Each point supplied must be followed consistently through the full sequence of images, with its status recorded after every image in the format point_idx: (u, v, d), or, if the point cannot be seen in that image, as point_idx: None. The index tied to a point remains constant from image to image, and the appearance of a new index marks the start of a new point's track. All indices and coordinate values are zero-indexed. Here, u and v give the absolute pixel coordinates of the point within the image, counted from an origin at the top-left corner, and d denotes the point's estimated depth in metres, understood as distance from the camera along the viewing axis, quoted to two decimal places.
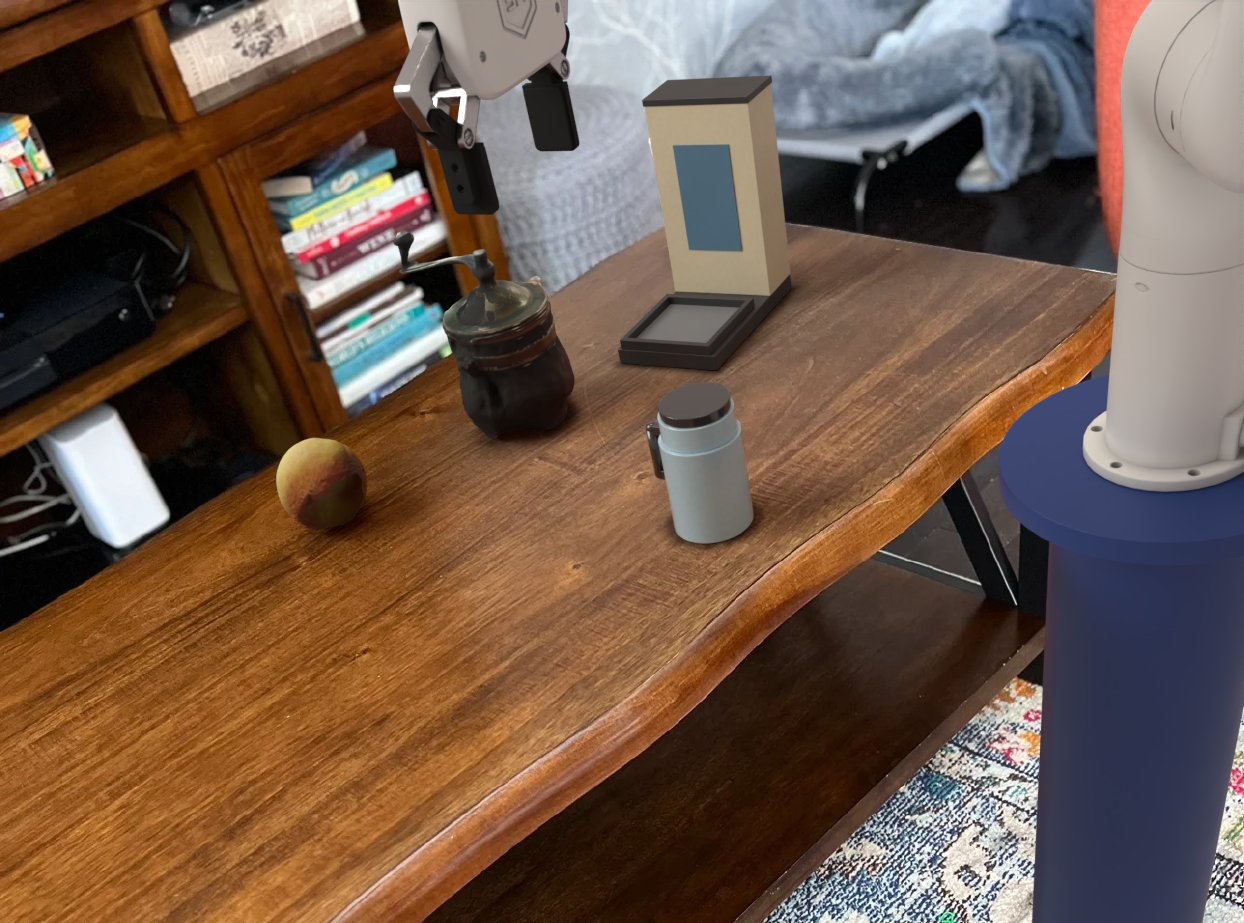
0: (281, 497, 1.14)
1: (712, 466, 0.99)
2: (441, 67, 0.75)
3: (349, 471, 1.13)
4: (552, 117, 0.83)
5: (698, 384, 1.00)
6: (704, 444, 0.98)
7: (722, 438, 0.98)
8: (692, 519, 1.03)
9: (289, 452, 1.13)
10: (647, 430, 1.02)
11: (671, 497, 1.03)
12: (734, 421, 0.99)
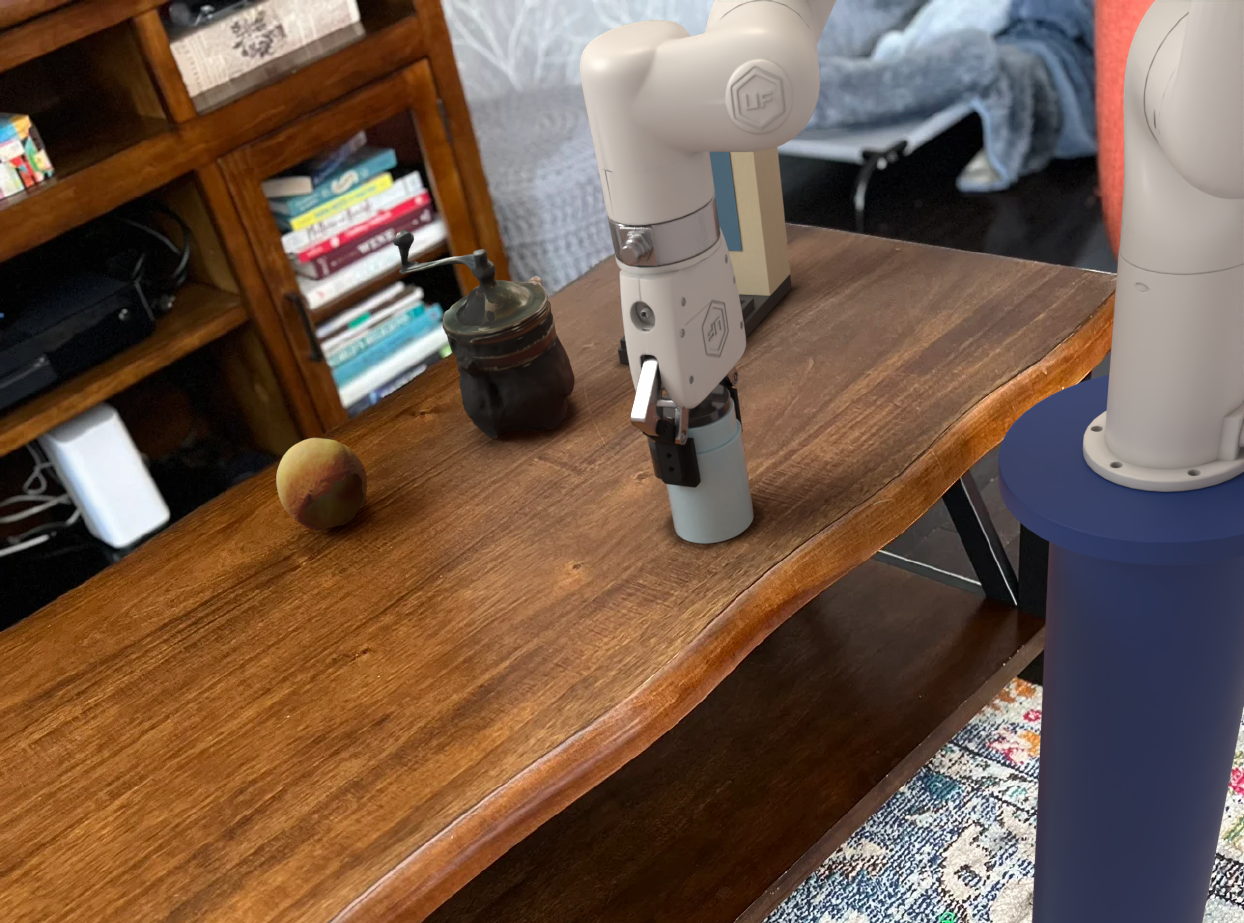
0: (281, 497, 1.14)
1: (712, 466, 0.99)
2: None
3: (349, 471, 1.13)
4: None
5: None
6: (704, 444, 0.98)
7: (722, 438, 0.98)
8: (692, 519, 1.03)
9: (289, 452, 1.13)
10: None
11: (671, 497, 1.03)
12: (734, 421, 0.99)
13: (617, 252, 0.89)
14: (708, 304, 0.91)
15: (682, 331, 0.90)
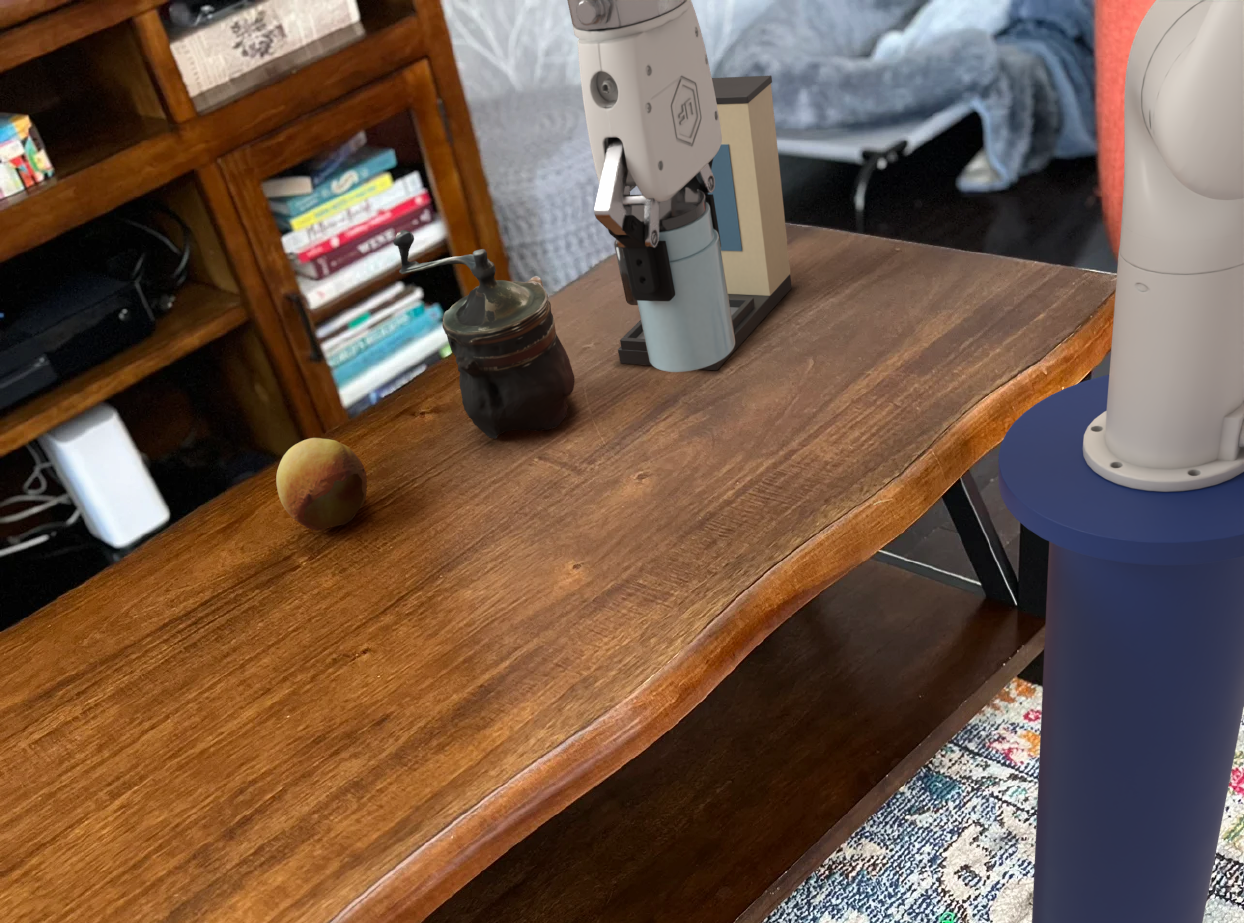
0: (281, 497, 1.14)
1: (687, 277, 0.90)
2: None
3: (349, 471, 1.13)
4: None
5: None
6: (677, 251, 0.89)
7: (697, 244, 0.89)
8: (667, 343, 0.94)
9: (289, 452, 1.13)
10: (616, 246, 0.93)
11: (644, 320, 0.94)
12: (710, 226, 0.90)
13: (574, 18, 0.80)
14: (677, 79, 0.82)
15: (649, 105, 0.81)
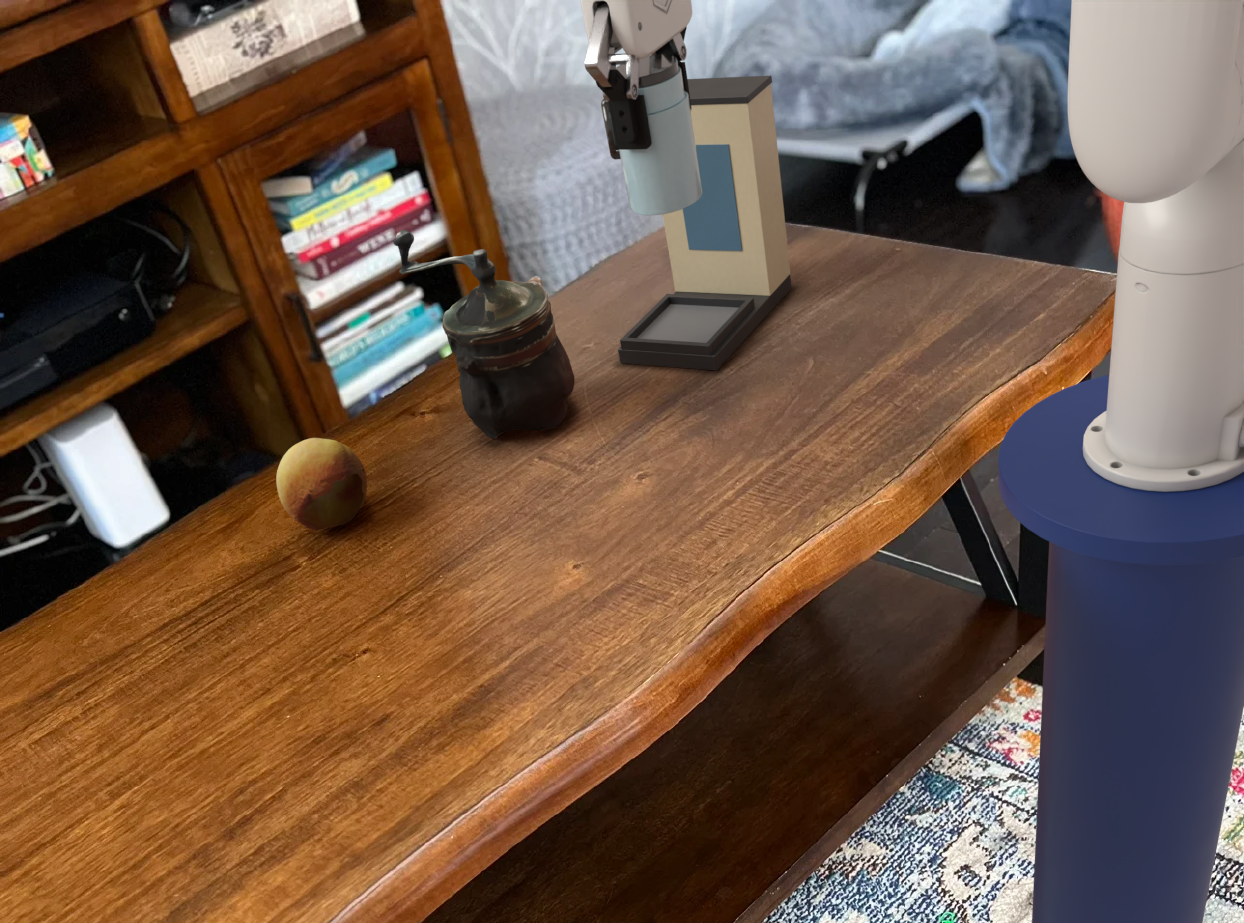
0: (281, 497, 1.14)
1: (661, 128, 1.07)
2: None
3: (349, 471, 1.13)
4: None
5: (649, 56, 1.09)
6: (653, 105, 1.06)
7: (670, 100, 1.07)
8: (644, 188, 1.11)
9: (289, 452, 1.13)
10: (602, 105, 1.11)
11: (625, 169, 1.11)
12: (681, 86, 1.07)
13: None
14: None
15: None
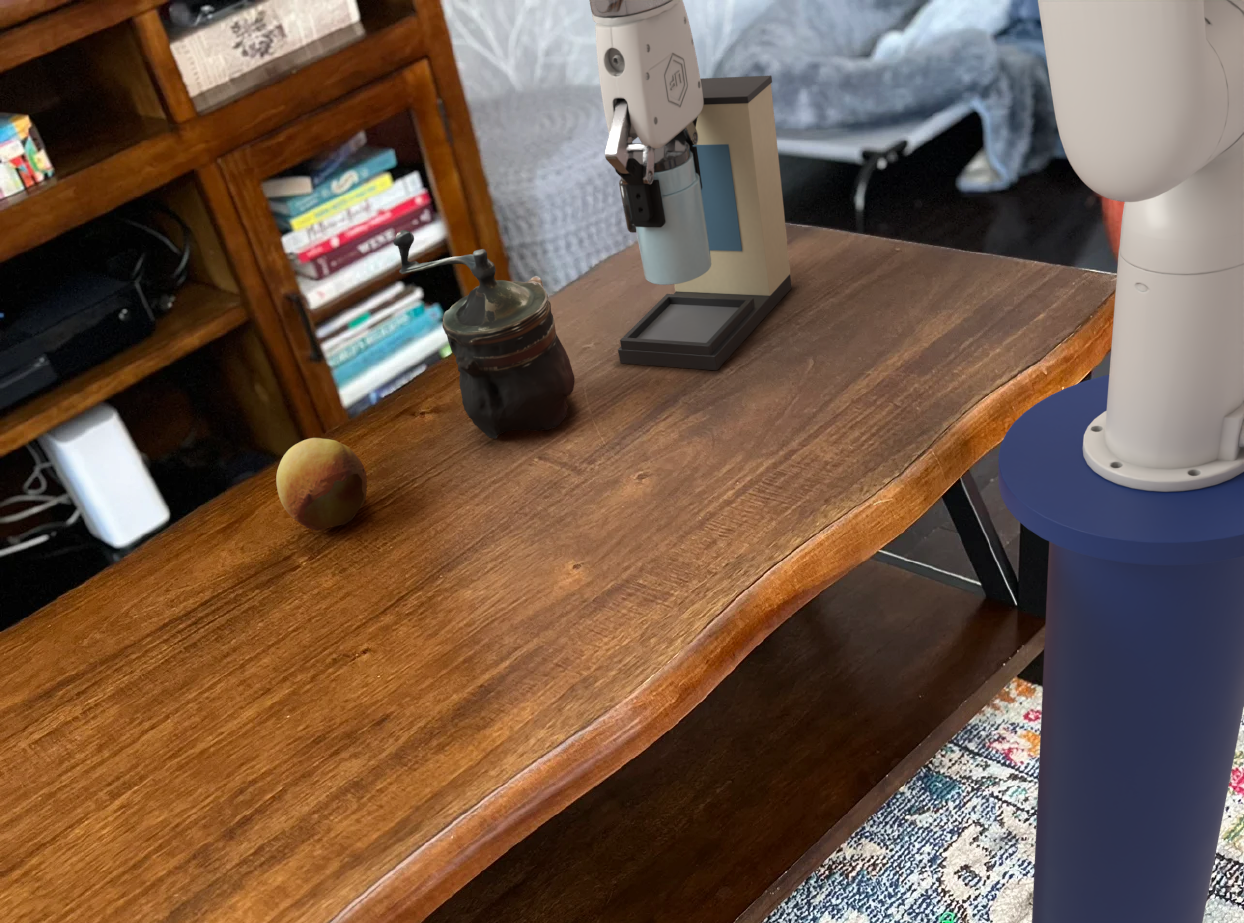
0: (281, 497, 1.14)
1: (674, 208, 1.17)
2: None
3: (349, 471, 1.13)
4: None
5: None
6: (667, 187, 1.16)
7: (682, 183, 1.16)
8: (658, 261, 1.21)
9: (289, 452, 1.13)
10: (620, 185, 1.21)
11: (641, 243, 1.21)
12: (693, 170, 1.17)
13: (593, 7, 1.07)
14: (669, 56, 1.10)
15: (647, 74, 1.08)
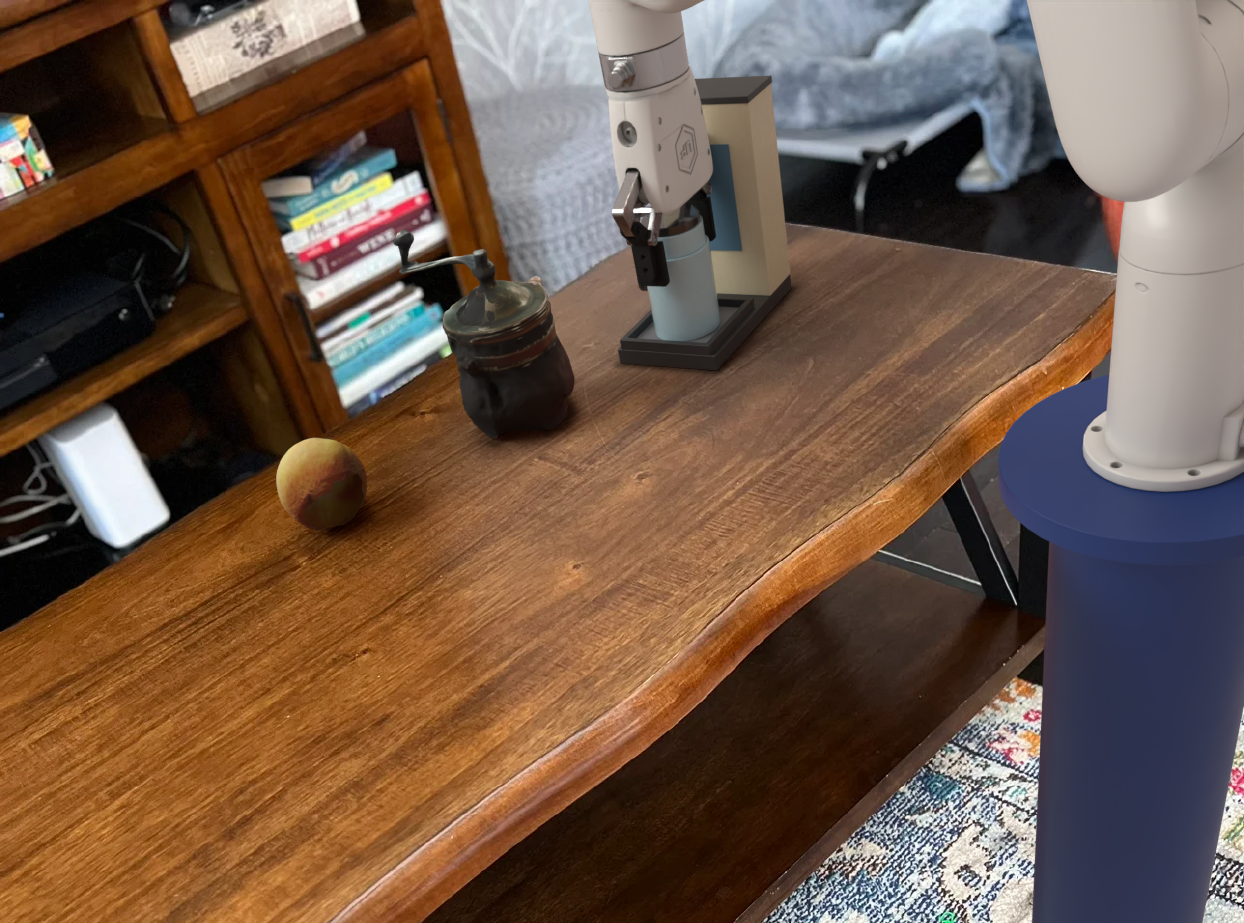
0: (281, 497, 1.14)
1: (685, 270, 1.21)
2: None
3: (349, 471, 1.13)
4: None
5: None
6: (678, 251, 1.20)
7: (693, 246, 1.20)
8: (669, 320, 1.25)
9: (289, 452, 1.13)
10: None
11: (652, 302, 1.25)
12: (703, 233, 1.21)
13: (606, 82, 1.11)
14: (680, 127, 1.13)
15: (659, 146, 1.12)
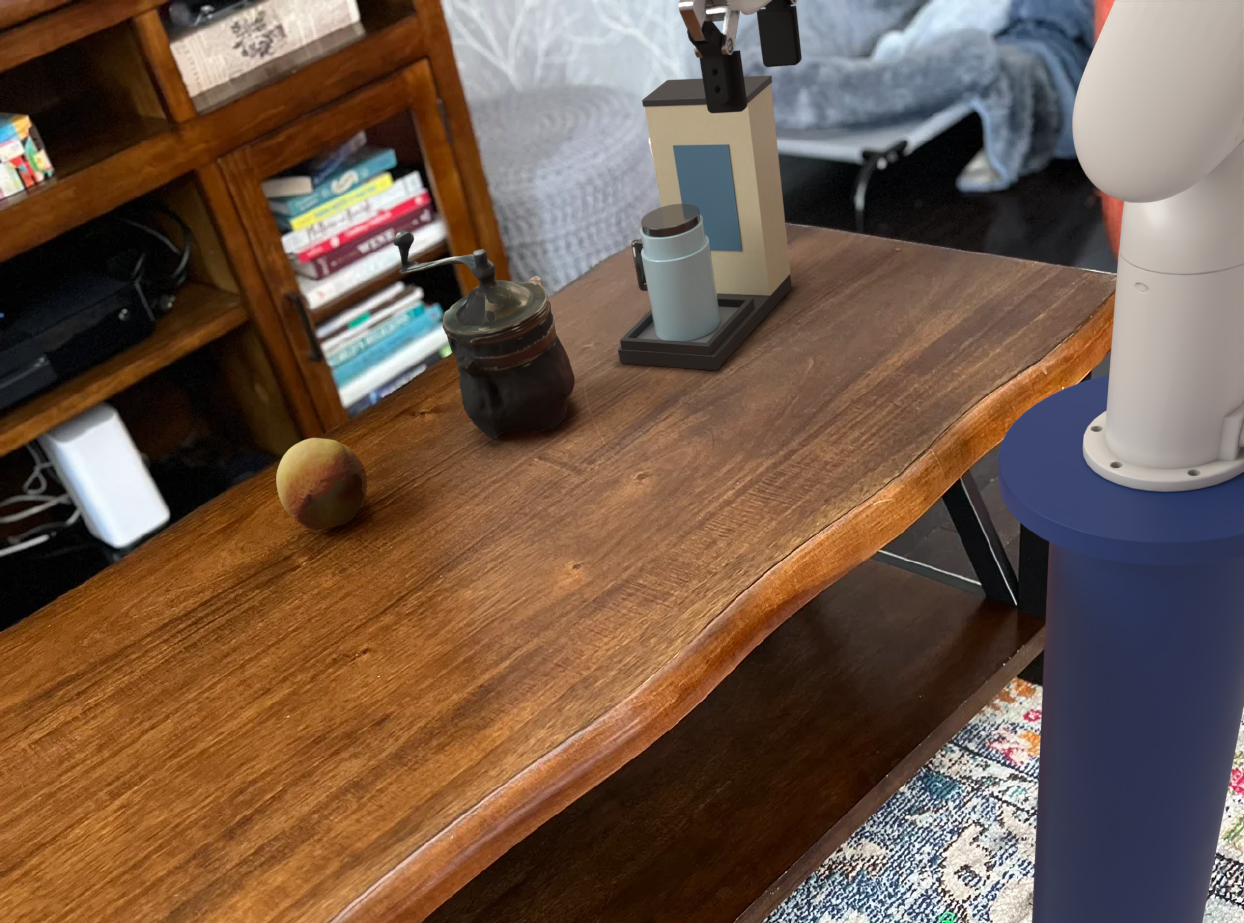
0: (281, 497, 1.14)
1: (685, 270, 1.21)
2: None
3: (349, 471, 1.13)
4: (781, 36, 1.01)
5: (674, 205, 1.22)
6: (678, 251, 1.20)
7: (693, 246, 1.20)
8: (669, 320, 1.25)
9: (289, 452, 1.13)
10: (632, 246, 1.24)
11: (652, 302, 1.25)
12: (703, 233, 1.21)
13: None
14: None
15: None
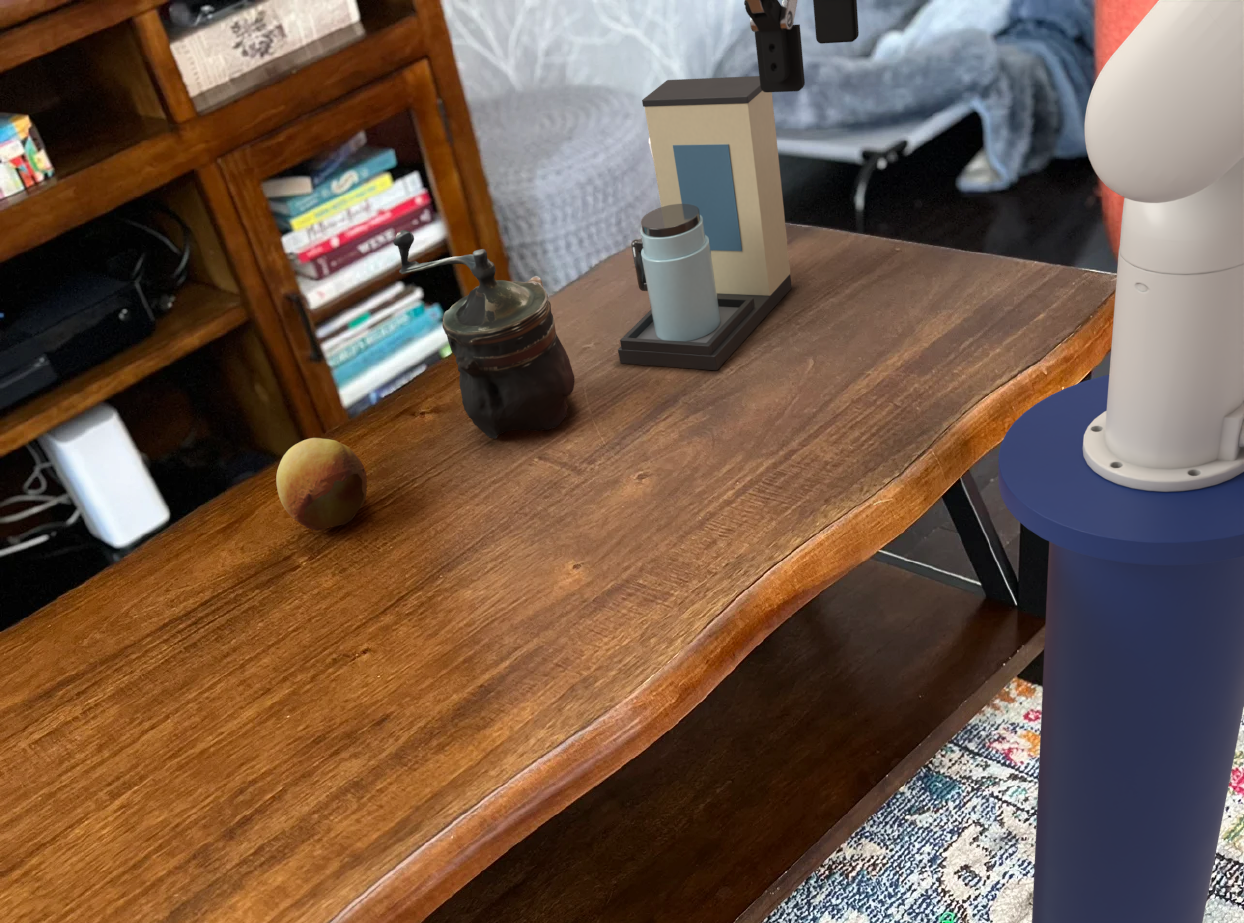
0: (281, 497, 1.14)
1: (685, 270, 1.21)
2: None
3: (349, 471, 1.13)
4: (837, 11, 0.94)
5: (674, 205, 1.22)
6: (678, 251, 1.20)
7: (693, 246, 1.20)
8: (669, 320, 1.25)
9: (289, 452, 1.13)
10: (632, 246, 1.24)
11: (652, 302, 1.25)
12: (703, 233, 1.21)
13: None
14: None
15: None
